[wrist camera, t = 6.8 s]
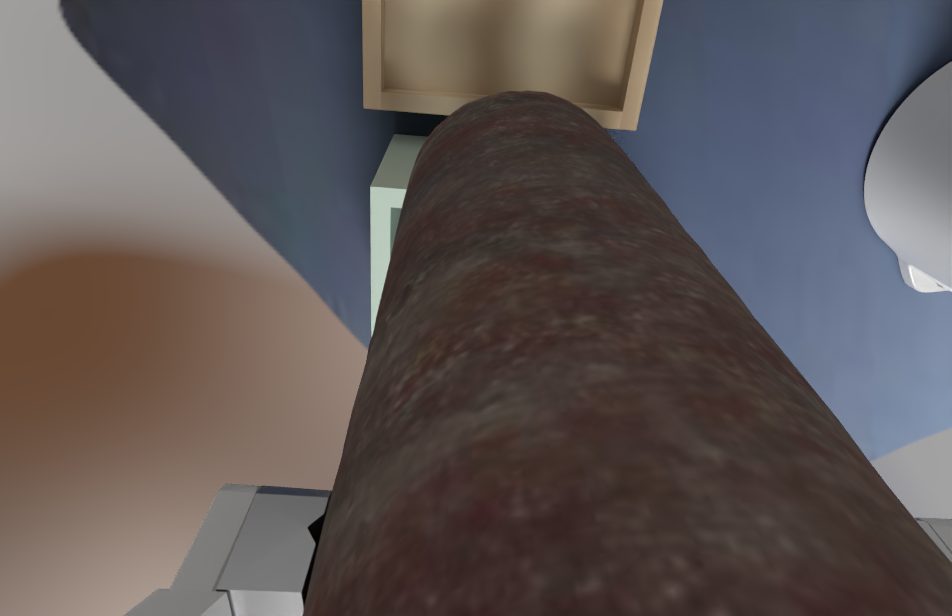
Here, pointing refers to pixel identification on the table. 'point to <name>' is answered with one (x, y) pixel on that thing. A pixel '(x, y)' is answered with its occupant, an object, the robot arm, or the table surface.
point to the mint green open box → (389, 207)
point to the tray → (509, 53)
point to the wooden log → (590, 412)
